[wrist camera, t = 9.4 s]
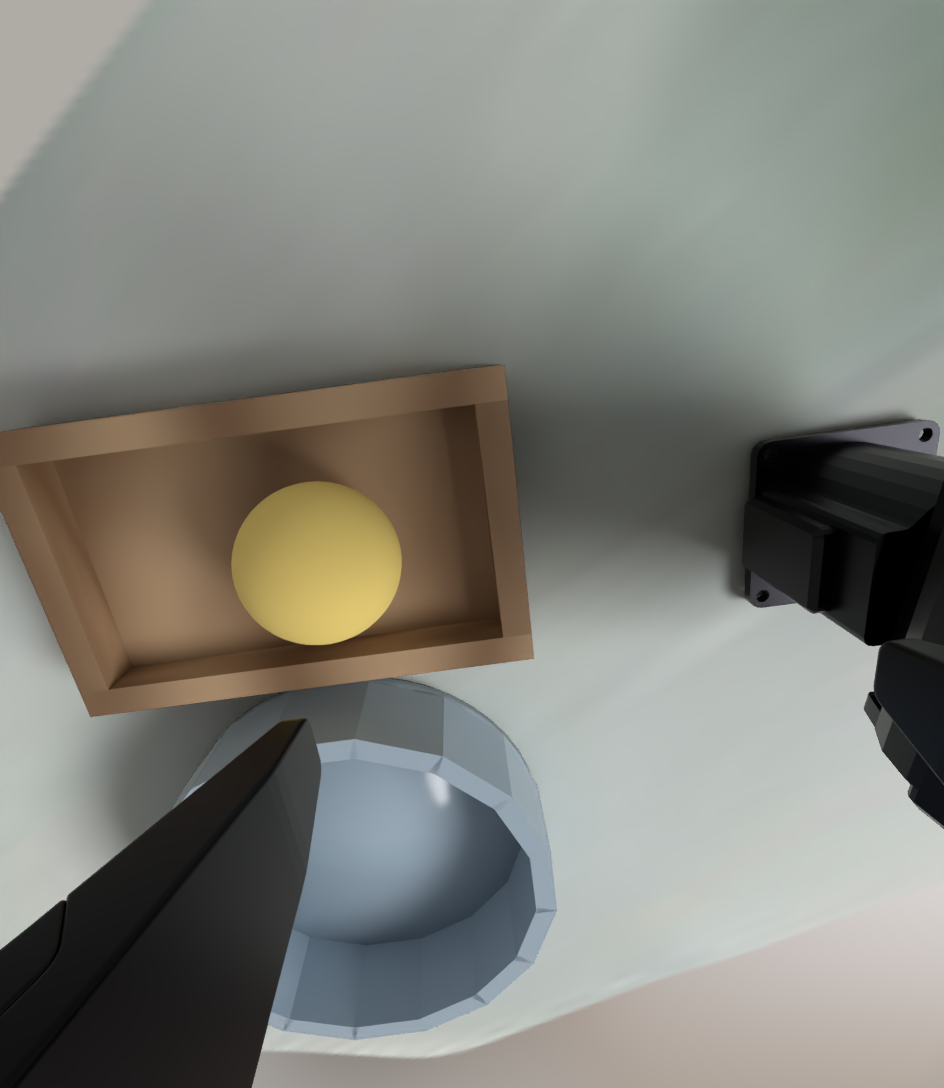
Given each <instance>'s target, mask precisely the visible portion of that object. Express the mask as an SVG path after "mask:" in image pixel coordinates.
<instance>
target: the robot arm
mask: <svg viewBox="0 0 944 1088" xmlns="http://www.w3.org/2000/svg"><path fill="white" fill-rule="evenodd" d="M922 430H923V432H924V433H923V435H922V437H921V438H920V439H919V437H918V436H919V433H920V432H921V431H922ZM939 435H940V427H939V426H938V424H937V423H936V422H934V421H929V420H920V419H918V420H910V421H903V422H895V423H888V424H880V425H873V426H865V427H858V428H850V429H843V430H835V431H828V432H820V433H813V434H805V435H798V436H790V437H783V438H775V439H768V440H763V441H760V442H759V443H758V444H756V445H755V447H754V448H753V450H752V453H751V466H750V488H749V499H748V500H747V502H746V503H745V512H744V534H743V557H742V563H743V565H744V566H745V567H746V573H745V598H746V599H747V601H748V602H750V603H751V604H752V605H753V606H756V607H760V608H763V607H770V606H778V605H786V604H793V603H797V604H799V605H800V606H802V607H803V608H805V609H806V610H807V611H809V612H810V613H813V614H815V613H821V614H823V615H824V616H825V617H827V618H828V619H830V620H831V621H833V622H834V623H836V624H837V625H839V626H840V627H842V628H843V629H845V630H846V631H847V632H849V633H850V634H852V635H853V636H855V637H856V638H858V639H859V640H861V641H862V642H864V643H865V644H867V645H868V646H878V645H881V647H880V648H879V652H878V659H877V666H876V673H875V680H874V692H869V694H868V697H867V700H866V703H865V706H864V710H865V712H866V714H867V715H868V717H869V719H870V720H871V722H872V723H873V725H874V727H875V731H876V734H877V737H878V740H879V743H880V746H881V749H882V751H883V753H884V754H885V755H886V756H887V757H888V759H889V760H890V761H891V762H892V763H893V765H894V766H895V767H896V768H897V769H898V771H899V772H900V773H901V774H902V776H903V777H904V778H905V779H906V780H907V781H908V782H909V783H910V787H909V790H908V796H909V798H910V799H911V800H912V801H913V803H914V804H915V805H916V806H917V807H918V808H919V810H921V811H922V812H923V813H924V814H926V815H927V816H928V817H930V818H931V819H932V820H933V821H935V822H936V823H937V824H938V825H940V826H941V827H942V828H943V829H944V457H942V456H937V455H936V454H937V447H938V441H939ZM768 449H771V451H772V454H771V457H770V458H769V459H768V460H764V454H765V452H766V451H767V450H768ZM762 590H764V591H763V594H762V595H761V596H760V597H757V598H756V596H757V593H758V592H759V591H762ZM320 780H321V760H320V756H319V752H318V749H317V745H316V741H315V738H314V734H313V730H312V727H311V724H310V722H309V720H307V719H306V718H296V719H289V720H282V721H280V722H278V723H277V724H276V725H275V726H273V727H272V728H271V729H270V730H269V731H267V732H266V733H265V734H264V735H262V736H261V737H260V738H259V739H258V740H256V741H255V742H254V743H253V744H251V745H250V746H249V747H248V748H247V749H245V750H244V751H243V752H242V753H241V754H239V755H238V756H237V757H236V758H234V759H233V760H232V761H231V762H230V763H228V764H227V765H226V766H225V767H223V768H222V769H221V770H220V771H219V772H217V773H216V774H215V775H214V776H212V777H211V778H210V779H209V780H208V781H206V782H205V783H204V784H203V785H202V786H200V787H199V788H198V789H197V790H195V791H194V792H193V793H192V794H191V795H189V796H188V797H187V798H186V799H184V800H183V801H182V802H181V803H180V804H178V805H177V806H176V807H175V808H173V809H172V810H171V811H170V812H169V813H167V814H166V815H165V816H164V817H162V818H161V819H160V820H159V821H158V822H156V823H155V824H154V825H153V826H152V827H150V828H149V829H148V830H147V831H145V832H144V833H143V834H142V835H141V836H139V837H138V838H137V839H136V840H134V841H133V842H132V843H131V844H130V845H128V846H127V847H126V848H125V849H123V850H122V851H121V852H120V853H119V854H117V855H116V856H115V857H114V858H112V859H111V860H110V861H109V862H108V863H106V864H105V865H104V866H103V867H101V868H100V869H99V870H98V871H97V872H95V873H94V874H93V875H92V876H90V877H89V878H88V879H87V880H86V881H84V882H83V883H82V884H81V885H80V886H78V887H77V888H76V889H75V890H73V891H72V892H71V893H70V894H69V895H68V896H67V900H66V901H65V900H62V901H60V902H59V903H57V904H56V905H55V906H54V907H53V908H51V909H50V910H49V911H48V912H46V913H45V914H44V915H43V916H42V917H40V918H39V919H38V920H37V921H36V922H34V923H33V924H32V925H31V926H29V927H28V928H27V929H26V930H24V931H23V932H22V933H21V934H19V935H18V936H17V937H16V938H14V939H13V940H12V941H11V942H9V943H8V944H7V945H6V946H4V947H3V948H2V949H1V950H0V1088H252V1084H253V1080H254V1076H255V1072H256V1069H257V1065H258V1061H259V1057H260V1053H261V1049H262V1045H263V1041H264V1038H265V1034H266V1030H267V1026H268V1022H269V1018H270V1014H271V1010H272V1006H273V1003H274V999H275V995H276V991H277V987H278V983H279V979H280V975H281V972H282V968H283V964H284V960H285V956H286V952H287V948H288V944H289V940H290V937H291V933H292V929H293V925H294V921H295V917H296V913H297V909H298V905H299V902H300V898H301V894H302V890H303V885H304V881H305V877H306V872H307V866H308V861H309V854H310V848H311V841H312V834H313V827H314V820H315V814H316V807H317V800H318V793H319V786H320Z"/></svg>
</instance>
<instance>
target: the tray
mask: <svg viewBox="0 0 944 1088" xmlns="http://www.w3.org/2000/svg"><path fill="white" fill-rule="evenodd" d="M313 481H322V482H332V483H337V484H341V485H344V486H347V487H349V488H352V489H354V490H357V491H358V492H360V493H362V494H364V495H365V496H367V497H368V498H369V499H371V500H372V501H373V502H374V503H376V504H377V505H378V506H379V507H380V508H381V510H382V511H383V512H384V513H385V515H386V516H387V517H388V519H389V520H390V522H391V523H392V525H393V527H394V529H395V532H396V534H397V537H398V540H399V544H400V548H401V555H402V568H401V577H400V581H399V585H398V588H397V591H396V594H395V596H394V598H393V600H392V602H391V603H390V605H389V607H388V608H387V609H386V611H385V612H384V613H383V615H382V616H381V617H380V618H379V619H378V620H377V621H376V622H375V623H374V624H372V625H371V626H370V627H369V628H367V629H366V630H365V631H363V632H362V633H360V634H358V635H356V636H354V637H352V638H349V639H347V640H344V641H341V642H337V643H333V644H326V645H305V644H299V643H295V642H291V641H288V640H285V639H282V638H280V637H278V636H276V635H274V634H272V633H271V632H269V631H268V630H266V629H265V628H263V627H262V626H260V625H259V624H258V623H257V622H256V621H255V620H254V619H253V618H252V617H251V615H250V614H249V613H248V612H247V610H246V609H245V608H244V606H243V604H242V603H241V601H240V599H239V597H238V594H237V591H236V589H235V586H234V582H233V577H232V568H231V561H232V551H233V547H234V542H235V539H236V537H237V534H238V531H239V530H240V528H241V526H242V524H243V522H244V521H245V519H246V518H247V516H248V515H249V513H250V512H251V511H252V510H253V509H254V508H255V507H256V506H257V505H258V504H259V503H260V502H261V501H263V500H264V499H265V498H266V497H268V496H269V495H271V494H273V493H274V492H276V491H278V490H280V489H282V488H285V487H288V486H291V485H294V484H298V483H303V482H313ZM0 510H1V512H2V515H3V517H4V519H5V521H6V524H7V526H8V528H9V531H10V533H11V535H12V538H13V540H14V542H15V544H16V547H17V549H18V551H19V554H20V556H21V558H22V561H23V563H24V565H25V567H26V570H27V572H28V574H29V577H30V579H31V581H32V584H33V586H34V588H35V590H36V593H37V595H38V597H39V600H40V602H41V604H42V607H43V609H44V611H45V613H46V616H47V618H48V620H49V623H50V625H51V627H52V630H53V632H54V634H55V636H56V639H57V641H58V643H59V646H60V648H61V650H62V653H63V655H64V657H65V659H66V662H67V664H68V666H69V669H70V671H71V673H72V676H73V678H74V680H75V682H76V685H77V687H78V689H79V692H80V694H81V696H82V699H83V701H84V703H85V705H86V708H87V710H88V712H89V715H90V717H94V716H102V715H109V714H117V713H125V712H132V711H140V710H147V709H155V708H163V707H170V706H178V705H185V704H193V703H201V702H208V701H216V700H223V699H231V698H239V697H246V696H254V695H261V694H269V693H277V692H284V691H292V690H299V689H307V688H315V687H322V686H330V685H337V684H345V683H353V682H360V681H368V680H375V679H383V678H391V677H398V676H406V675H413V674H421V673H429V672H436V671H444V670H451V669H459V668H467V667H474V666H482V665H489V664H497V663H505V662H512V661H520V660H527V659H534V653H533V643H532V633H531V623H530V613H529V603H528V594H527V584H526V574H525V564H524V554H523V544H522V534H521V524H520V514H519V504H518V494H517V485H516V475H515V465H514V455H513V445H512V435H511V425H510V415H509V405H508V395H507V386H506V376H505V366H504V365H499V364H497V365H489V366H482V367H474V368H467V369H459V370H452V371H444V372H437V373H430V374H422V375H415V376H407V377H400V378H392V379H385V380H377V381H370V382H362V383H355V384H348V385H340V386H333V387H325V388H318V389H310V390H303V391H295V392H288V393H280V394H273V395H266V396H258V397H251V398H243V399H236V400H228V401H221V402H213V403H206V404H198V405H191V406H184V407H176V408H169V409H161V410H154V411H146V412H139V413H131V414H124V415H116V416H109V417H102V418H94V419H87V420H79V421H72V422H64V423H57V424H49V425H42V426H34V427H28V428H21V429H15V430H9V431H2V432H0Z"/></svg>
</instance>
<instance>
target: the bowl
mask: <svg viewBox="0 0 944 1088" xmlns="http://www.w3.org/2000/svg"><path fill="white" fill-rule="evenodd" d="M296 718H306V719H307V720H309V722H310V724H311V727H312V730H313V734H314V738H315V741H316V745H317V749H318V752H319V756H320V760H321V780H320V786H319V793H318V800H317V807H316V814H315V820H314V827H313V834H312V841H311V848H310V854H309V861H308V866H307V872H306V877H305V881H304V885H303V890H302V894H301V898H300V902H299V905H298V909H297V913H296V917H295V921H294V925H293V929H292V933H291V937H290V940H289V944H288V948H287V952H286V956H285V960H284V964H283V968H282V972H281V975H280V979H279V983H278V987H277V991H276V995H275V999H274V1003H273V1006H272V1010H271V1014H270V1018H269V1022H268V1025H270V1026H272V1027H275V1028H277V1029H279V1030H282V1031H288V1032H296V1033H304V1034H312V1035H320V1036H328V1037H336V1038H344V1039H351V1040H358V1039H366V1038H374V1037H382V1036H389V1035H397V1034H405V1033H413V1032H421V1031H426V1030H429V1029H431V1028H433V1027H436V1026H438V1025H440V1024H443V1023H445V1022H447V1021H450V1020H452V1019H455V1018H457V1017H459V1016H462V1015H464V1014H466V1013H469V1012H471V1011H474V1010H476V1009H478V1008H481V1007H483V1006H485V1005H488V1004H489V1003H490V1002H491V1001H492V1000H493V999H494V998H495V997H497V996H498V995H499V994H500V993H501V992H502V991H503V990H504V989H506V988H507V987H508V986H509V985H510V984H511V983H512V982H513V981H515V980H516V979H517V978H518V977H519V976H520V975H521V974H522V973H524V972H525V971H526V970H527V969H528V968H529V967H530V966H531V965H533V964H534V961H535V959H536V957H537V954H538V952H539V950H540V948H541V945H542V943H543V941H544V939H545V936H546V934H547V932H548V930H549V927H550V925H551V923H552V920H553V918H554V916H555V914H556V911H557V908H556V898H555V888H554V879H553V869H552V859H551V851H550V846H549V841H548V836H547V831H546V826H545V822H544V817H543V812H542V807H541V802H540V797H539V792H538V787H537V784H536V782H535V781H534V779H533V778H532V776H531V774H530V771H529V768H528V766H527V764H526V762H525V761H524V759H523V757H522V755H521V754H520V752H519V750H518V749H517V748H516V746H515V745H514V744H513V742H512V741H511V740H510V739H509V737H508V736H507V735H506V734H505V733H504V732H503V731H502V730H501V729H500V728H499V727H498V726H497V725H496V724H495V723H494V722H493V721H492V720H490V719H489V718H488V717H486V716H485V715H483V714H482V713H481V712H479V711H478V710H477V709H475V708H474V707H472V706H470V705H468V704H467V703H465V702H463V701H461V700H459V699H458V698H456V697H454V696H452V695H449V694H447V693H444V692H442V691H439V690H437V689H434V688H432V687H428V686H424V685H420V684H417V683H413V682H409V681H404V680H397V679H391V678H383V679H375V680H368V681H360V682H353V683H345V684H337V685H330V686H322V687H315V688H307V689H299V690H292V691H284V692H282V693H279V694H277V695H275V696H273V697H271V698H269V699H266V700H265V701H263V702H261V703H260V704H258V705H257V706H255V707H253V708H252V709H250V710H249V711H247V712H246V713H245V714H243V715H242V716H241V717H240V718H239V719H238V720H236V721H235V722H234V723H233V724H232V725H230V726H229V727H228V728H227V730H226V731H225V732H224V733H223V735H222V736H221V737H220V738H219V739H218V740H217V742H216V743H215V745H214V746H213V748H212V750H211V751H210V752H209V754H208V755H207V756H206V758H205V759H204V760H203V762H202V763H201V764H200V766H199V767H198V768H197V770H196V771H195V772H194V774H193V775H192V777H191V778H190V780H189V782H188V783H187V785H186V786H185V788H184V790H183V791H182V793H181V794H180V796H179V798H178V799H177V801H176V803H175V804H174V806H173V807H172V809H173V808H175V807H176V806H177V805H178V804H180V803H181V802H182V801H183V800H184V799H186V798H187V797H188V796H189V795H191V794H192V793H193V792H194V791H195V790H197V789H198V788H199V787H200V786H202V785H203V784H204V783H205V782H206V781H208V780H209V779H210V778H211V777H212V776H214V775H215V774H216V773H217V772H219V771H220V770H221V769H222V768H223V767H225V766H226V765H227V764H228V763H230V762H231V761H232V760H233V759H234V758H236V757H237V756H238V755H239V754H241V753H242V752H243V751H244V750H245V749H247V748H248V747H249V746H250V745H251V744H253V743H254V742H255V741H256V740H258V739H259V738H260V737H261V736H262V735H264V734H265V733H266V732H267V731H269V730H270V729H271V728H272V727H273V726H275V725H276V724H277V723H278V722H280V721H282V720H289V719H296ZM172 809H171V810H172Z"/></svg>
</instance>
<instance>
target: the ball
mask: <svg viewBox="0 0 944 1088" xmlns="http://www.w3.org/2000/svg"><path fill="white" fill-rule="evenodd" d="M231 568H232V577H233V582H234V586H235V589H236V591H237V594H238V597H239V599H240V601H241V603H242V604H243V606H244V608H245V609H246V610H247V612H248V613H249V614H250V615H251V617H252V618H253V619H254V620H255V621H256V622H257V623H258V624H259V625H260V626H262V627H263V628H265V629H266V630H268V631H269V632H271V633H272V634H274V635H276V636H278V637H280V638H282V639H285V640H288V641H291V642H295V643H299V644H305V645H326V644H333V643H337V642H341V641H344V640H347V639H349V638H352V637H354V636H356V635H358V634H360V633H362V632H363V631H365V630H366V629H367V628H369V627H370V626H371V625H372V624H374V623H375V622H376V621H377V620H378V619H379V618H380V617H381V616H382V615H383V613H384V612H385V611H386V609H387V608H388V607H389V605H390V603H391V602H392V600H393V598H394V596H395V594H396V591H397V588H398V585H399V581H400V577H401V568H402V555H401V548H400V544H399V540H398V537H397V534H396V532H395V529H394V527H393V525H392V523H391V522H390V520H389V519H388V517H387V516H386V515H385V513H384V512H383V511H382V510H381V508H380V507H379V506H378V505H377V504H376V503H374V502H373V501H372V500H371V499H369V498H368V497H367V496H365V495H364V494H362V493H360V492H358V491H357V490H354V489H352V488H349V487H347V486H344V485H341V484H337V483H332V482H322V481H313V482H303V483H298V484H294V485H291V486H288V487H285V488H282V489H280V490H278V491H276V492H274V493H273V494H271V495H269V496H268V497H266V498H265V499H264V500H263V501H261V502H260V503H259V504H258V505H257V506H256V507H255V508H254V509H253V510H252V511H251V512H250V513H249V515H248V516H247V518H246V519H245V521H244V522H243V524H242V526H241V528H240V530H239V531H238V534H237V537H236V539H235V542H234V547H233V551H232V561H231Z"/></svg>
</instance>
